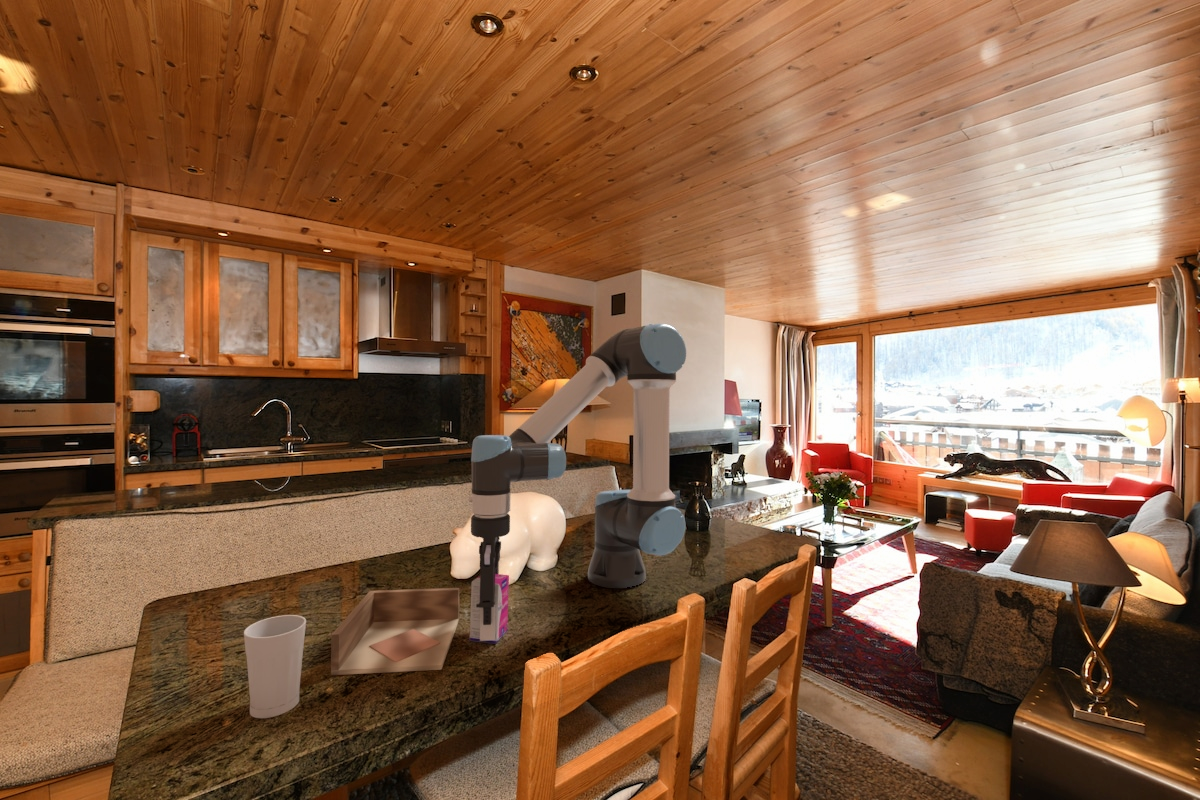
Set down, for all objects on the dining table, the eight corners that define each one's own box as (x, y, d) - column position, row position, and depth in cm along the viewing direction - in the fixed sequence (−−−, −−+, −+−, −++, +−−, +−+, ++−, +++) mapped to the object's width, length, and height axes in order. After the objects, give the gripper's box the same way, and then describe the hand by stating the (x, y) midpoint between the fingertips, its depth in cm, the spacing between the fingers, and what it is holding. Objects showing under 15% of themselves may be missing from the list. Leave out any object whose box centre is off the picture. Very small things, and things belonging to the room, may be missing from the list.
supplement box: (497, 644, 98) (498, 584, 98) (468, 641, 99) (469, 581, 99) (508, 631, 103) (509, 574, 103) (481, 628, 105) (482, 571, 105)
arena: (459, 620, 108) (459, 587, 108) (441, 669, 88) (441, 630, 88) (369, 623, 106) (369, 590, 106) (330, 675, 86) (331, 634, 86)
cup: (228, 718, 74) (229, 635, 74) (272, 688, 82) (273, 613, 82) (277, 724, 73) (278, 640, 73) (317, 693, 81) (318, 616, 81)
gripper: (477, 504, 111) (475, 610, 111) (463, 526, 91) (462, 656, 91) (512, 503, 112) (511, 609, 111) (507, 525, 92) (505, 654, 92)
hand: (489, 630), depth 101 cm, fingers closed on supplement box, 7 cm apart
